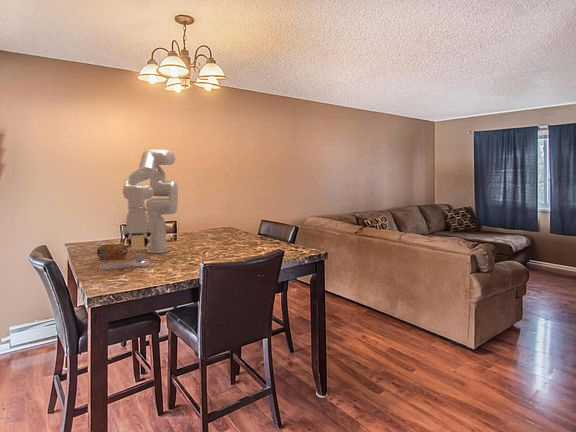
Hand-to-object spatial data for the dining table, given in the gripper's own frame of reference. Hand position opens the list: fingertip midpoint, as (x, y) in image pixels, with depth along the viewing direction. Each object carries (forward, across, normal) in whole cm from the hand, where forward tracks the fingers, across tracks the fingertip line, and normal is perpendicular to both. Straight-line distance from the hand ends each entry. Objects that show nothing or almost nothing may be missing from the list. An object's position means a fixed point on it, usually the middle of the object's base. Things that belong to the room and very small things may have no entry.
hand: (138, 245), depth 181 cm
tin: (+10, +15, -20) cm, 27 cm away
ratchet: (+10, +7, 0) cm, 12 cm away
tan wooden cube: (+1, 0, 0) cm, 1 cm away
